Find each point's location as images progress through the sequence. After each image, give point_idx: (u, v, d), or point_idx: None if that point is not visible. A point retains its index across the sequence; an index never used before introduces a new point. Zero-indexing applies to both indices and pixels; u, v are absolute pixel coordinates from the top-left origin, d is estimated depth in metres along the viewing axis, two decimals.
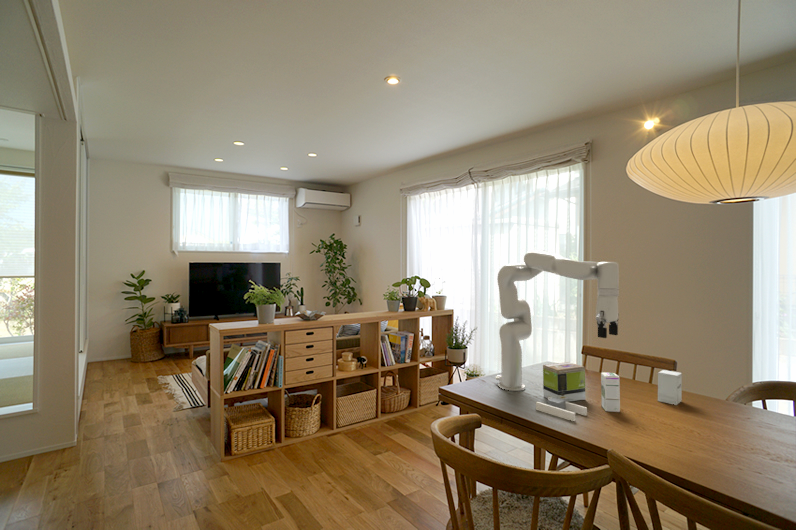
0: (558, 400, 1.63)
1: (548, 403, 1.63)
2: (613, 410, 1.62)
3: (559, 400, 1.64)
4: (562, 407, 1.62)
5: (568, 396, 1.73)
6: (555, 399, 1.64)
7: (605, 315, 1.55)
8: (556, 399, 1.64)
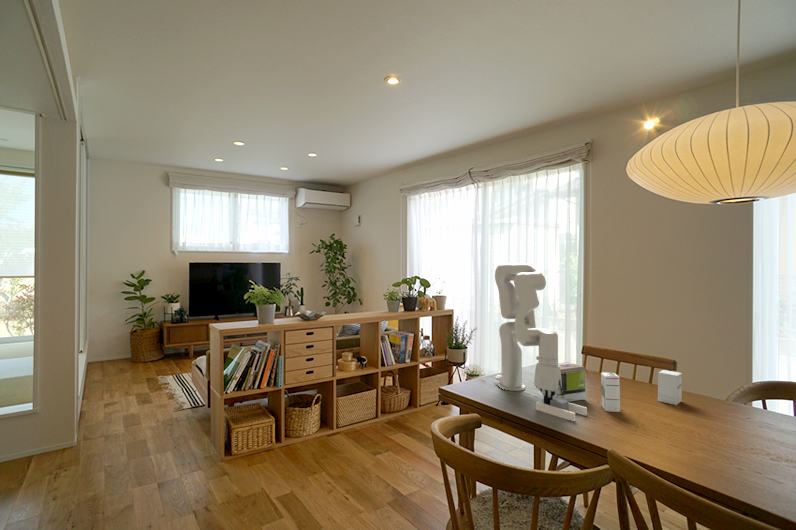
0: (561, 400, 1.62)
1: (551, 403, 1.62)
2: (613, 410, 1.62)
3: (562, 400, 1.62)
4: (565, 408, 1.61)
5: (568, 396, 1.73)
6: (558, 400, 1.63)
7: (561, 383, 1.63)
8: (559, 399, 1.63)
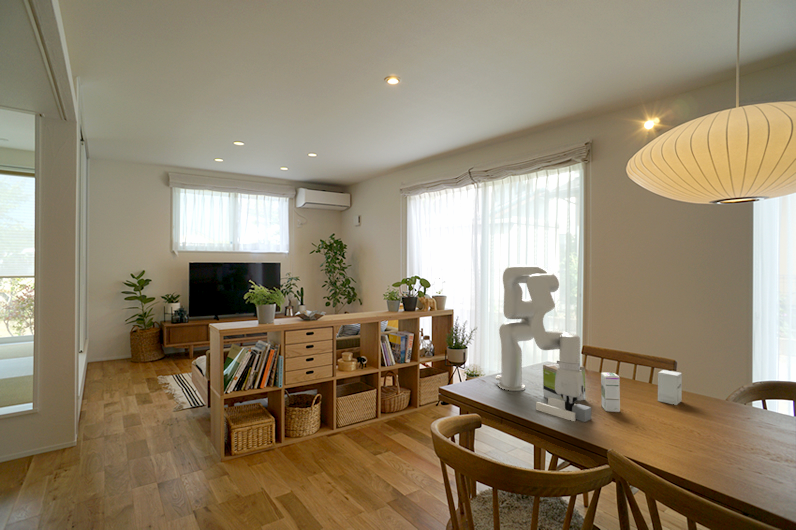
0: (583, 407, 1.55)
1: (573, 410, 1.55)
2: (613, 410, 1.62)
3: (584, 406, 1.55)
4: (588, 414, 1.54)
5: None
6: (580, 406, 1.56)
7: (583, 389, 1.56)
8: (581, 406, 1.56)
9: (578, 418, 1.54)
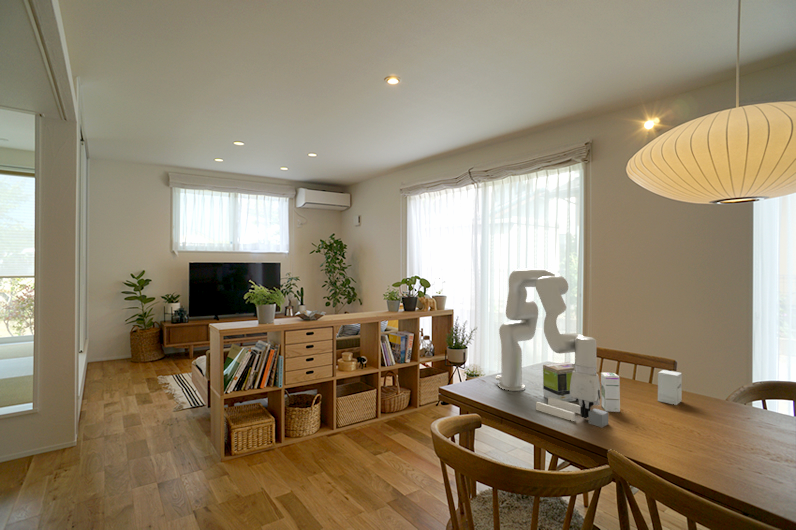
0: (600, 412, 1.50)
1: (589, 415, 1.50)
2: (613, 410, 1.62)
3: (601, 411, 1.50)
4: (605, 419, 1.49)
5: (568, 396, 1.73)
6: (597, 411, 1.51)
7: (600, 393, 1.51)
8: (598, 410, 1.51)
9: (595, 423, 1.49)
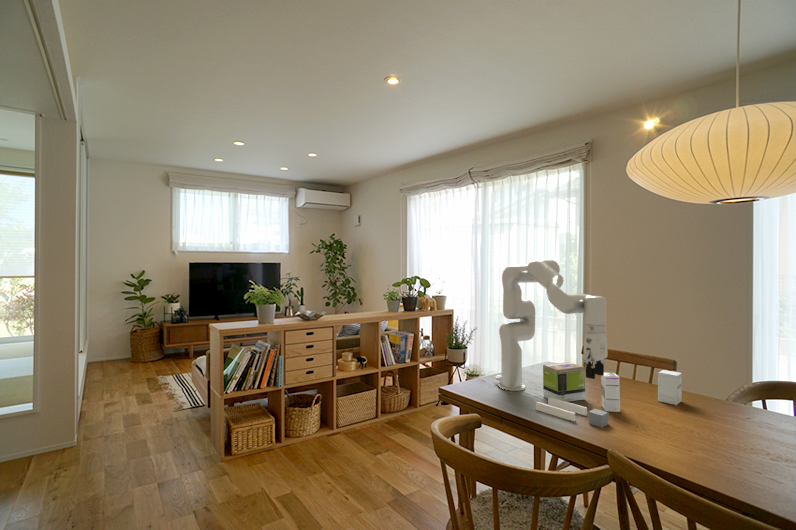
0: (600, 412, 1.50)
1: (589, 415, 1.50)
2: (613, 410, 1.62)
3: (601, 411, 1.50)
4: (605, 420, 1.49)
5: (568, 396, 1.73)
6: (597, 411, 1.51)
7: None
8: (598, 411, 1.51)
9: (595, 424, 1.49)
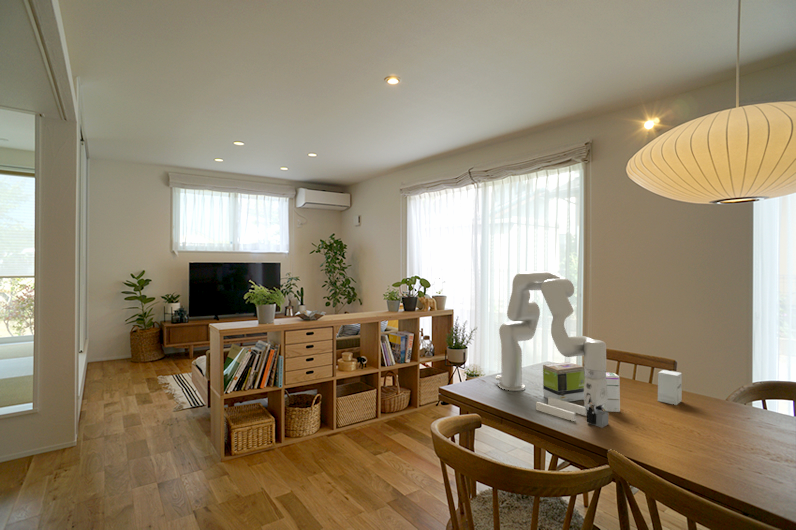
0: (600, 412, 1.50)
1: None
2: (613, 410, 1.62)
3: (601, 411, 1.50)
4: (605, 419, 1.49)
5: (568, 396, 1.73)
6: (597, 411, 1.51)
7: None
8: (598, 411, 1.51)
9: None
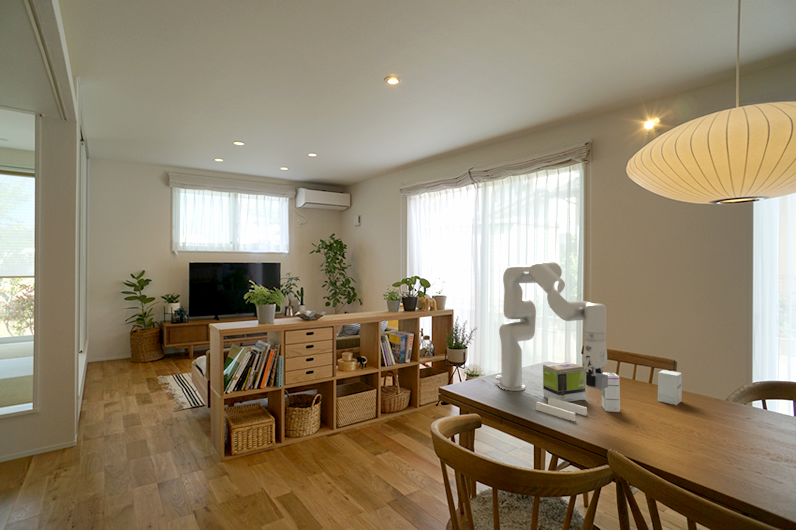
0: (600, 375, 1.50)
1: None
2: (613, 410, 1.62)
3: (601, 374, 1.51)
4: (605, 382, 1.49)
5: (568, 396, 1.73)
6: (596, 374, 1.51)
7: None
8: (597, 374, 1.51)
9: None
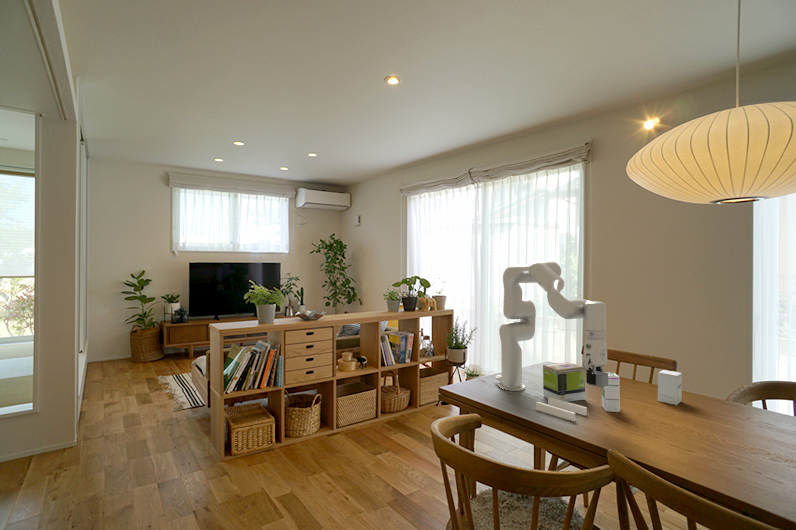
0: (600, 373, 1.50)
1: None
2: (613, 410, 1.62)
3: (601, 372, 1.50)
4: (605, 380, 1.49)
5: (568, 396, 1.73)
6: (597, 372, 1.51)
7: None
8: (598, 372, 1.51)
9: (595, 384, 1.49)
